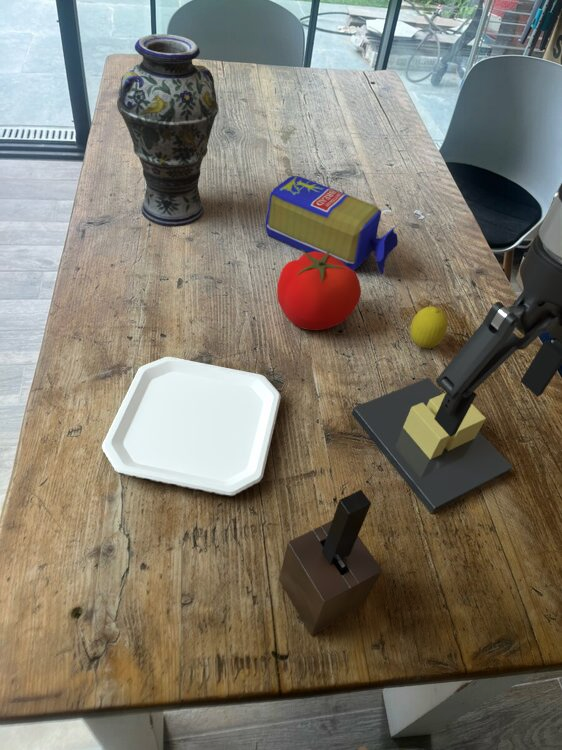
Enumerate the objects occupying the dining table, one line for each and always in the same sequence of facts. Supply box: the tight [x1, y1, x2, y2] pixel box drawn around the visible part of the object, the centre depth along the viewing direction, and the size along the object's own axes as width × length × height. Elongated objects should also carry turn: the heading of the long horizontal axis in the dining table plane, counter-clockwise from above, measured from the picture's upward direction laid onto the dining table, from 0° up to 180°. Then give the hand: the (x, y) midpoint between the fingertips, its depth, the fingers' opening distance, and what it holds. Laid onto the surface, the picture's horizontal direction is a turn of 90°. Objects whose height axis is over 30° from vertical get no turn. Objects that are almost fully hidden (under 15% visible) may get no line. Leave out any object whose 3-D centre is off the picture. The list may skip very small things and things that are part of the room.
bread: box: [264, 175, 400, 275], centre depth 108 cm, size 10×25×10 cm, turn 59°
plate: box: [101, 356, 282, 497], centre depth 78 cm, size 21×21×2 cm
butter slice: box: [403, 402, 450, 459], centre depth 78 cm, size 6×2×4 cm, turn 30°
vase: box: [116, 33, 219, 227], centre depth 104 cm, size 17×17×30 cm
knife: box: [322, 489, 372, 575], centre depth 58 cm, size 3×2×20 cm
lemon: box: [409, 306, 448, 349], centre depth 92 cm, size 6×6×8 cm
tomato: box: [276, 249, 362, 331], centre depth 93 cm, size 12×13×12 cm
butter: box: [427, 392, 487, 451], centre depth 80 cm, size 6×5×4 cm
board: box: [351, 377, 514, 515], centre depth 81 cm, size 18×14×2 cm
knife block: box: [278, 520, 383, 637], centre depth 62 cm, size 7×7×9 cm
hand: (489, 406), depth 66 cm, fingers open, 13 cm apart
